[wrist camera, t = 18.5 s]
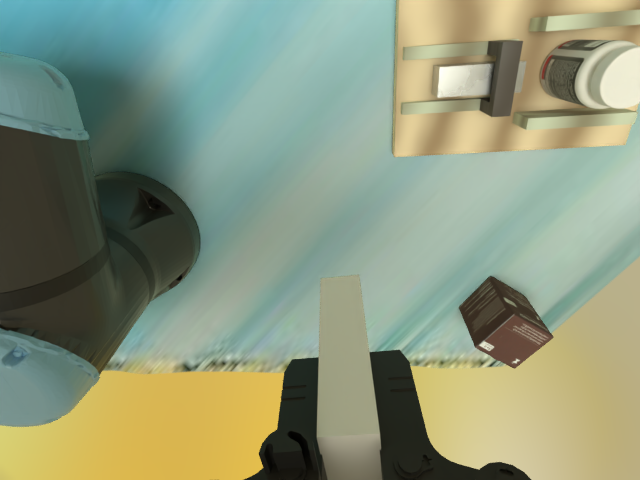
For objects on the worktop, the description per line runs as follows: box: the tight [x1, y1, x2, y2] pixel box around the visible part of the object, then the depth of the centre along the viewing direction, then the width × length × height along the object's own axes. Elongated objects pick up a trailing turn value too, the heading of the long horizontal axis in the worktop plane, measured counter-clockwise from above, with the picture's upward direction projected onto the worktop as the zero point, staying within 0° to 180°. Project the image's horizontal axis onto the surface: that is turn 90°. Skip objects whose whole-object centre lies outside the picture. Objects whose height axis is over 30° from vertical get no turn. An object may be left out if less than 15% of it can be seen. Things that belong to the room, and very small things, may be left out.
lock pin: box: [431, 60, 527, 98], centre depth 33 cm, size 7×2×2 cm, turn 94°
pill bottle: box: [540, 40, 640, 109], centre depth 30 cm, size 5×5×8 cm
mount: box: [392, 0, 640, 157], centre depth 32 cm, size 22×16×6 cm
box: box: [459, 277, 553, 368], centre depth 45 cm, size 6×6×7 cm
